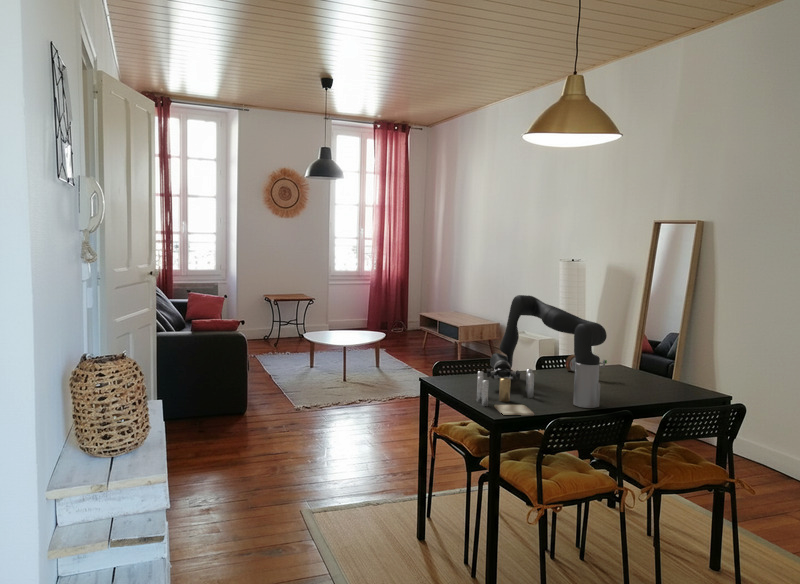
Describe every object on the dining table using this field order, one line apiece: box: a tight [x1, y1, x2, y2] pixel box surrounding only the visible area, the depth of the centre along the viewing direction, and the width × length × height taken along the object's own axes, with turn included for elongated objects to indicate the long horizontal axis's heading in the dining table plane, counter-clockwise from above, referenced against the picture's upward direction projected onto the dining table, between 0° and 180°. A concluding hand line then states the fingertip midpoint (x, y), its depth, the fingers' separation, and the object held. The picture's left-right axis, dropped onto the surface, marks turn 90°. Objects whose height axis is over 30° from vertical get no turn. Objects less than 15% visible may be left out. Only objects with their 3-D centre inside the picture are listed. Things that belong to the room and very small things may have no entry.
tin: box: [564, 354, 576, 373], centre depth 311 cm, size 15×3×8 cm, turn 122°
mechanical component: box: [599, 359, 608, 369], centre depth 292 cm, size 3×10×10 cm, turn 79°
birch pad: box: [493, 404, 535, 416], centre depth 233 cm, size 12×12×1 cm
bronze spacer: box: [498, 378, 512, 403], centre depth 248 cm, size 4×4×9 cm
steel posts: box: [476, 368, 535, 407], centre depth 251 cm, size 28×24×10 cm
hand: (503, 377), depth 259 cm, fingers open, 8 cm apart
